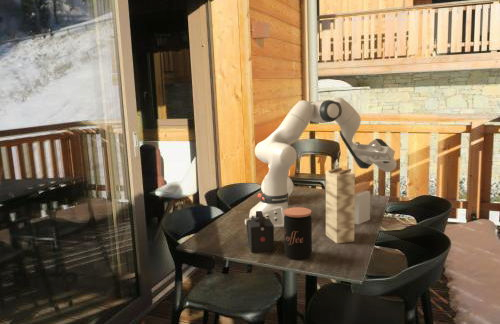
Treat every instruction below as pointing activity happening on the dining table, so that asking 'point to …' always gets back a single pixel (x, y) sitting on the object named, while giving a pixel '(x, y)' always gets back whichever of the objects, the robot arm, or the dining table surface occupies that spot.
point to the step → (362, 207)
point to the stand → (340, 205)
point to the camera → (260, 233)
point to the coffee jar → (297, 233)
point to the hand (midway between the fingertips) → (365, 144)
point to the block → (362, 186)
